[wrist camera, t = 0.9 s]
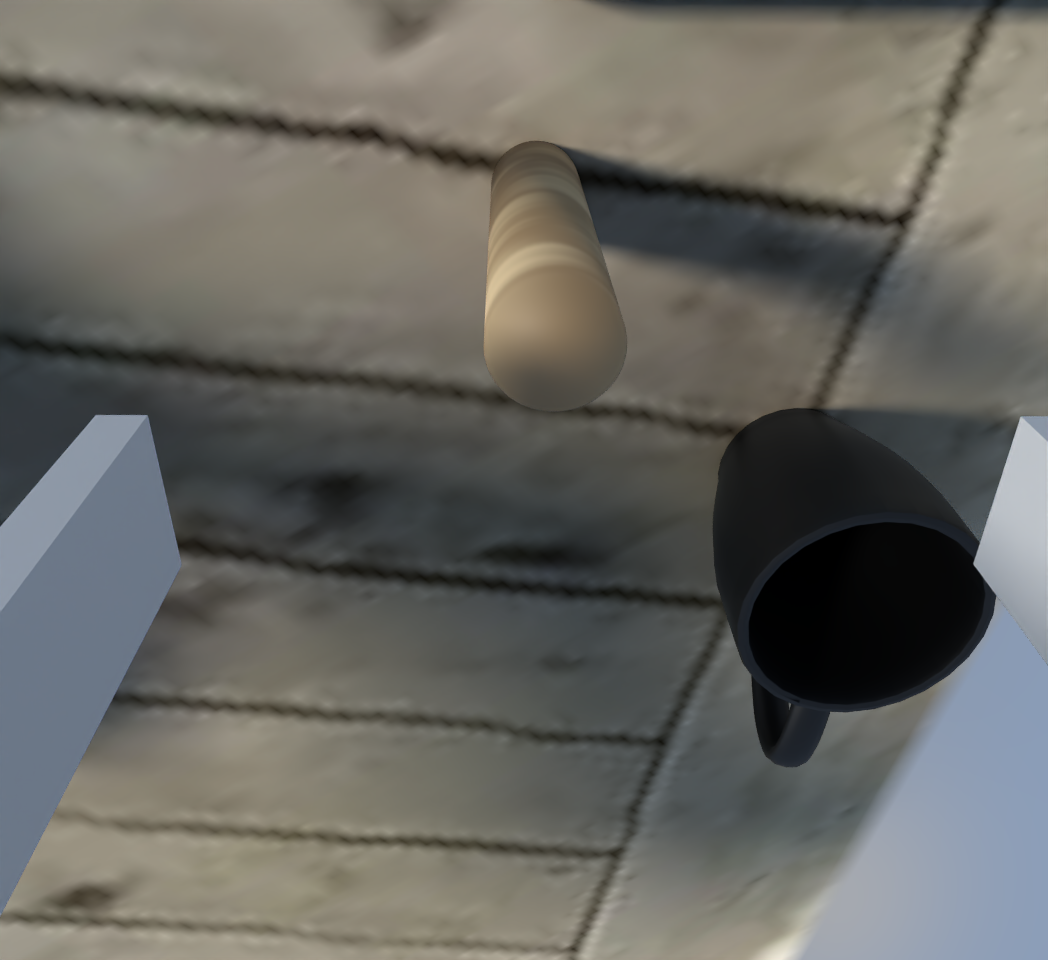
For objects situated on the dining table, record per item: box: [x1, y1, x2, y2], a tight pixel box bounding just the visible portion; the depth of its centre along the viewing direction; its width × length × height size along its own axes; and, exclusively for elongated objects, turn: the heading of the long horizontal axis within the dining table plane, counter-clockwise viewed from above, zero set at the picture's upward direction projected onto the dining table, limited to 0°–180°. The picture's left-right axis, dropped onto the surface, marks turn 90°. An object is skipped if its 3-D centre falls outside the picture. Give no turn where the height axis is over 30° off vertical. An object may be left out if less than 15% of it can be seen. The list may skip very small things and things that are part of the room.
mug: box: [713, 409, 996, 767], centre depth 34 cm, size 8×12×10 cm
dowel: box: [484, 141, 627, 412], centre depth 25 cm, size 3×3×14 cm
